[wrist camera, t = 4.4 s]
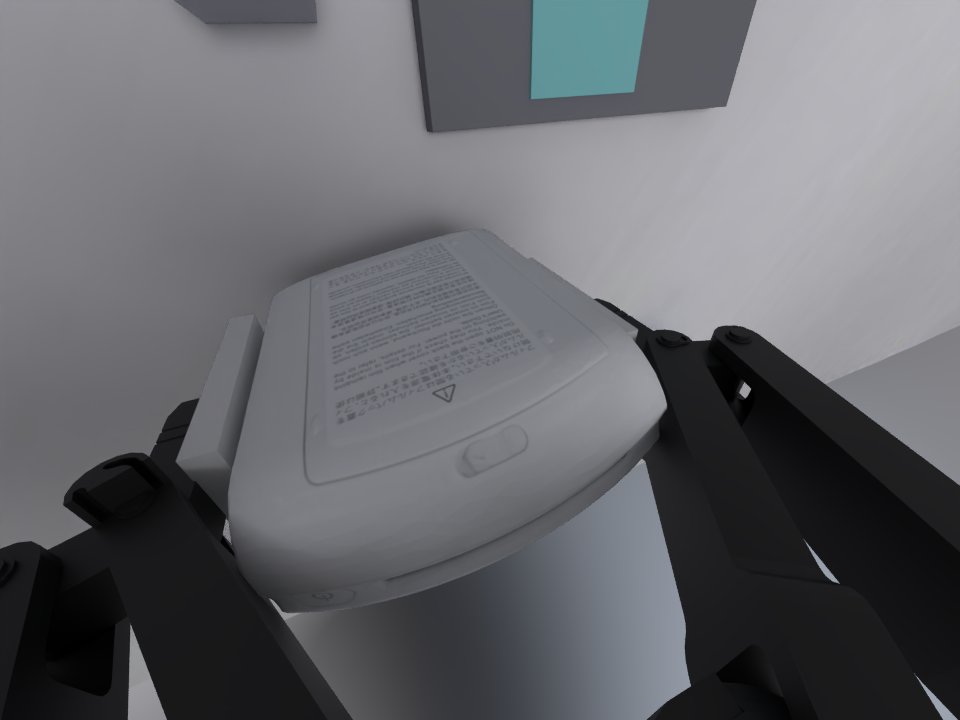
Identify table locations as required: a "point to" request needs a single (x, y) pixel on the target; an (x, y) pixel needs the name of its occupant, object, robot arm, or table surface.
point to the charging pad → (574, 58)
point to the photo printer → (427, 422)
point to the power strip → (252, 11)
